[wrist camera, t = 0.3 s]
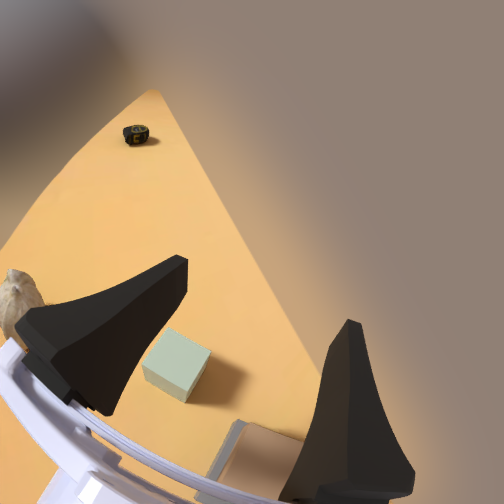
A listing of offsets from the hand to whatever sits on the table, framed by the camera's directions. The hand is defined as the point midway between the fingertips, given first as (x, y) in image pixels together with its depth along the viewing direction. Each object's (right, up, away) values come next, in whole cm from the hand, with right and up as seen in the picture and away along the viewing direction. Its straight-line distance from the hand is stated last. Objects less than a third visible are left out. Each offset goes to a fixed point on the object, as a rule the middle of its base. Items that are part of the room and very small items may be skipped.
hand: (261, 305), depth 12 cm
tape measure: (-31, +31, +52) cm, 68 cm away
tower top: (+1, -19, +8) cm, 21 cm away
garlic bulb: (-28, -8, +13) cm, 31 cm away
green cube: (-9, -11, +16) cm, 22 cm away
